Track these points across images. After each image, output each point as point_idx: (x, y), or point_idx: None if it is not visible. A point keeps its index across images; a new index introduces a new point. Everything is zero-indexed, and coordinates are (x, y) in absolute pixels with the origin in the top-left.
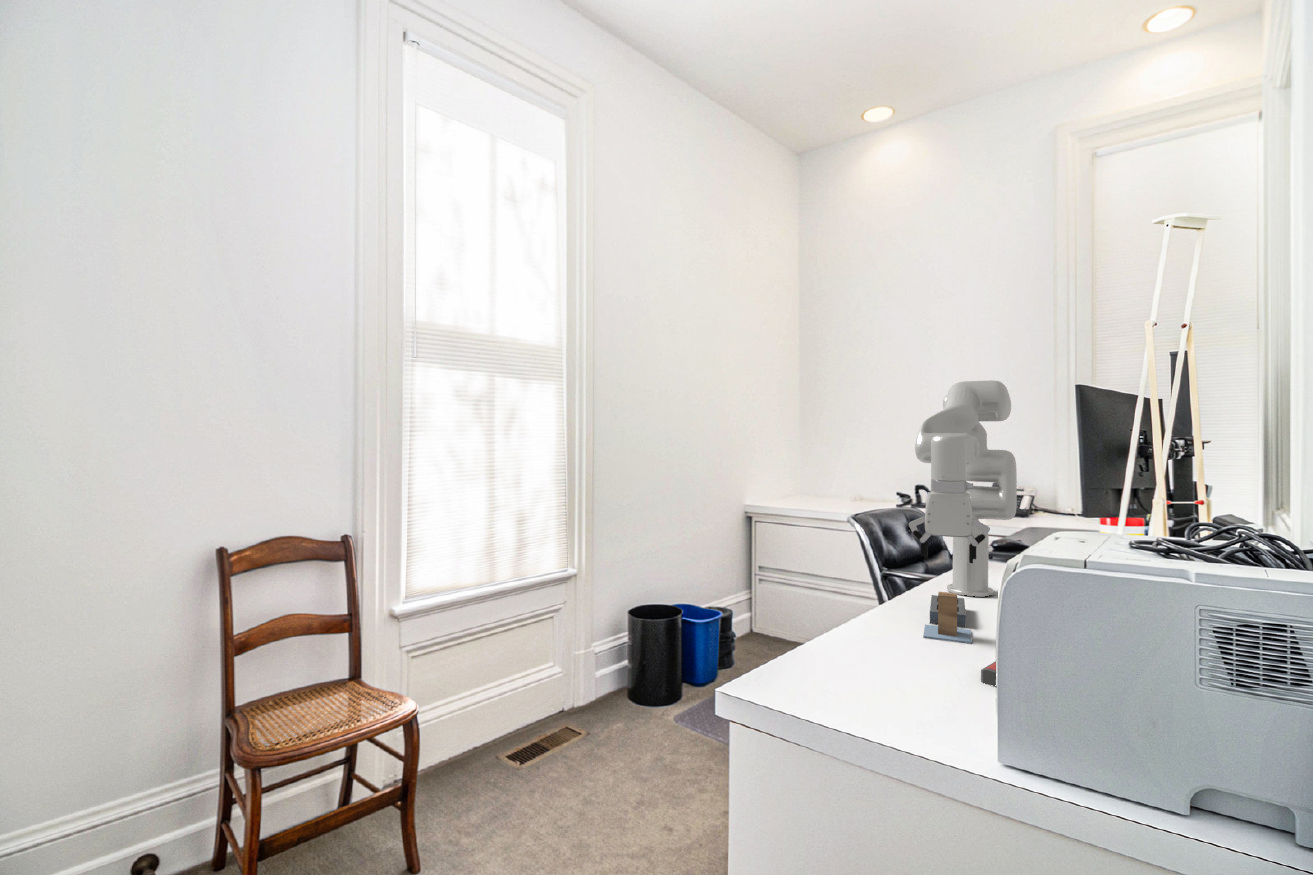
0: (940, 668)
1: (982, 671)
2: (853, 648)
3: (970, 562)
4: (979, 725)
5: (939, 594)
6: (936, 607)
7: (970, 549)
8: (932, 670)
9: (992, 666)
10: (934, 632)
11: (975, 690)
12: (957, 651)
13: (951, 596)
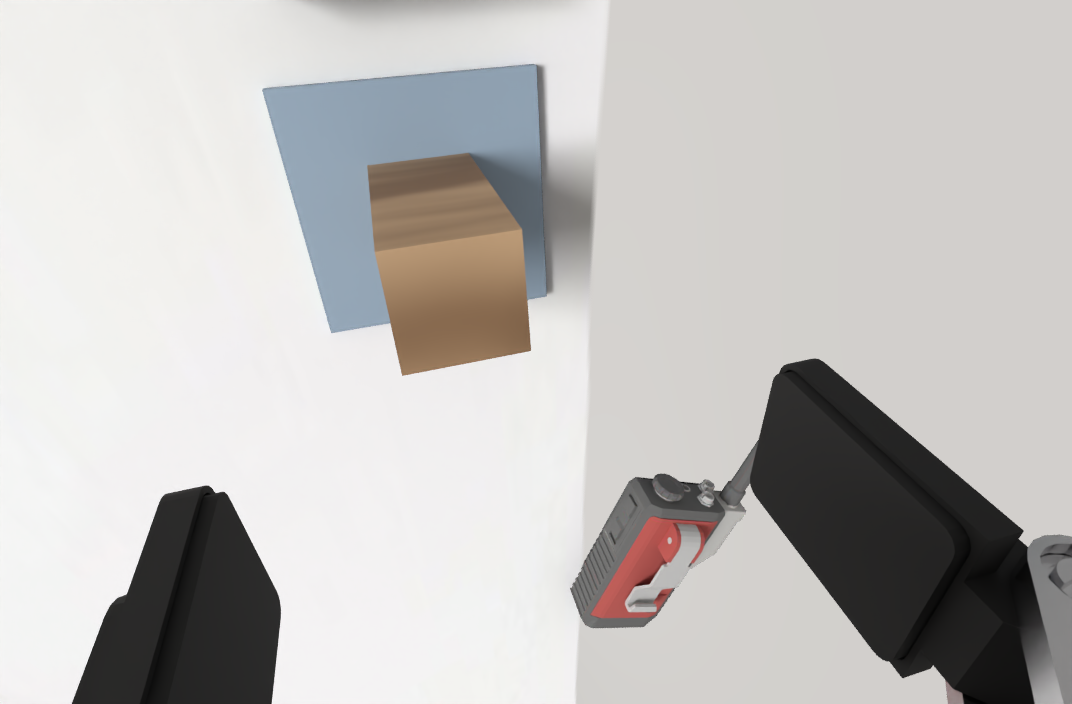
0: (466, 577)
1: (583, 620)
2: None
3: (760, 482)
4: None
5: (405, 349)
6: None
7: (866, 626)
8: (448, 600)
9: (610, 602)
10: (364, 241)
11: (557, 635)
12: (496, 415)
13: (492, 356)
